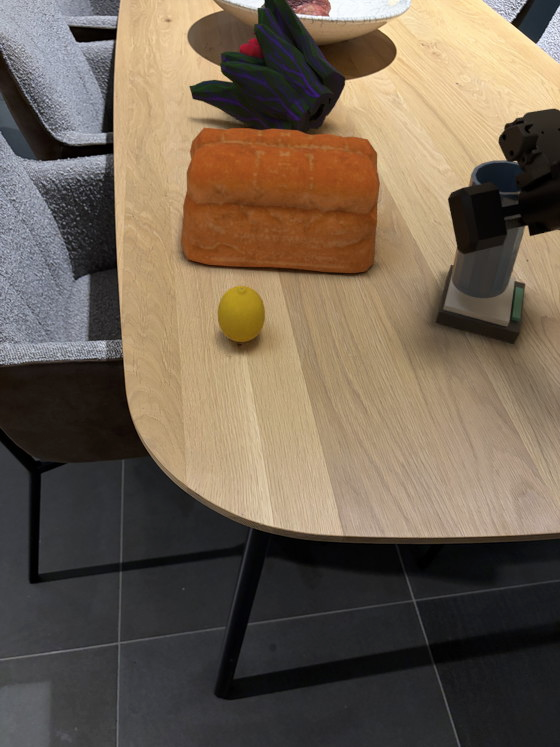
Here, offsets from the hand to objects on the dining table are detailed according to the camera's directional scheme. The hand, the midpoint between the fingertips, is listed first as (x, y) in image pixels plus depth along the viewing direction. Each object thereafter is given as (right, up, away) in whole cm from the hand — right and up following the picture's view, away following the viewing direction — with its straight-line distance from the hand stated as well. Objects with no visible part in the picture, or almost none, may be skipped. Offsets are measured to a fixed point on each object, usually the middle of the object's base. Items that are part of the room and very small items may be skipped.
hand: (483, 222), depth 69 cm
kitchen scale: (+3, -9, +10) cm, 14 cm away
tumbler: (+1, -6, +4) cm, 8 cm away
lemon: (-28, -13, +4) cm, 31 cm away
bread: (-24, +2, +17) cm, 29 cm away
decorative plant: (-27, +29, +41) cm, 57 cm away
